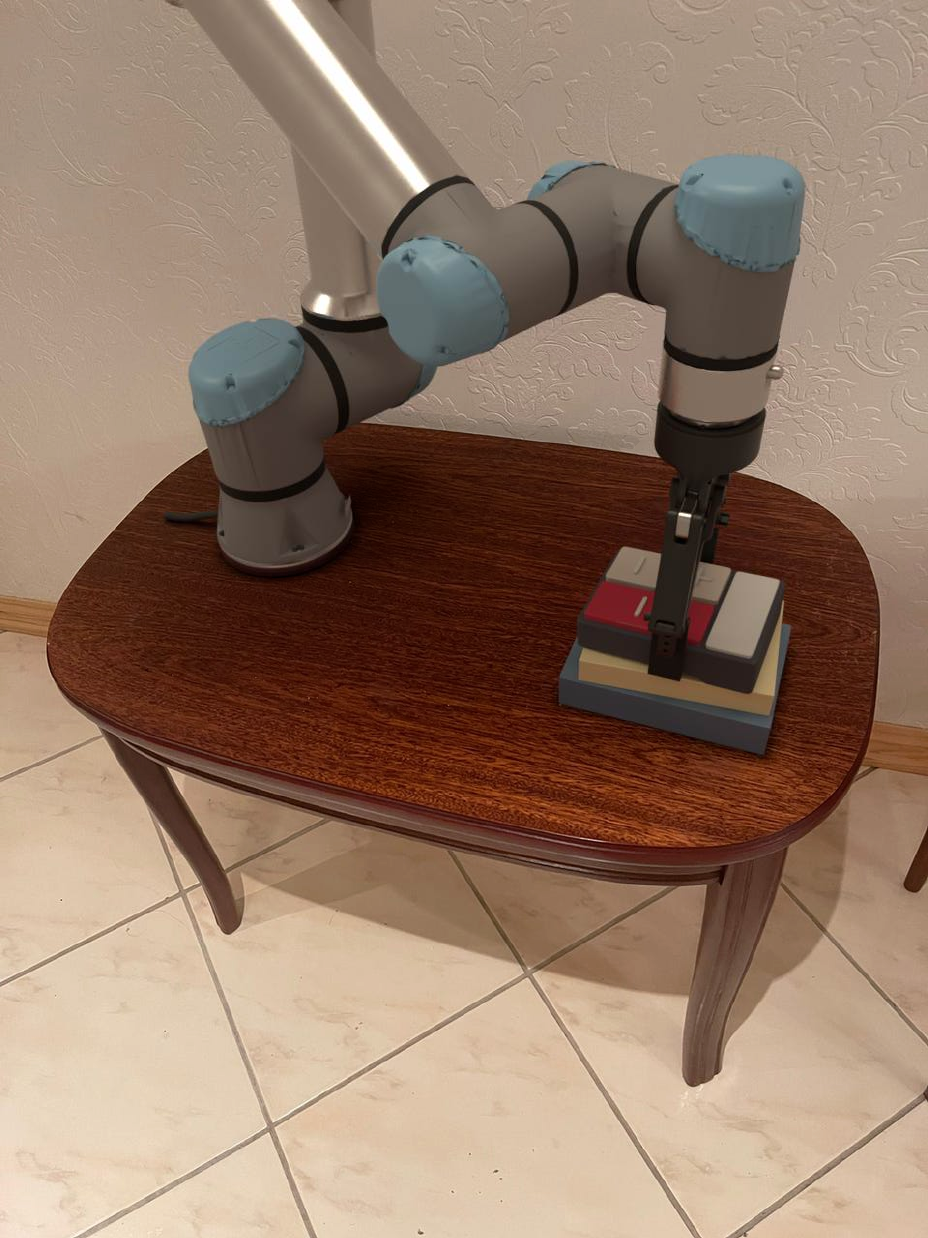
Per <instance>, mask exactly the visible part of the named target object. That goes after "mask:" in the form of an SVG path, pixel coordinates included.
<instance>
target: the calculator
mask: <svg viewBox="0 0 928 1238" xmlns="http://www.w3.org/2000/svg"><path fill="white" fill-rule="evenodd" d="M660 559H661V553H660V552H659V553H658V552H654V551H649V550H645V549H644V550H643V549H639V548H635V547H630V546H623V547H620V548H619V549H617V550H616V552H615V554H614V556H613V557H612V559H611V561H610V562H609V564H608V566H607V567H606V569H605V571H604V573H603V574H602V576H601V578H600V579H599V581H598V582H597V585H596V586H595V588H594V590H593V591H592V593H591V595H590V596H589V597H588V600H587V601H586V603H585V605H584V606H583V608H582V610H581V611H580V613H579V615H578V617H577V618H576V631H577V636H578V645H579V646H582V647H585V648H589V649H593V650H597V651H601V652H605V653H609V654H613V655H616V656H620V657H624V658H628V659H632V660H636V661H640V662H644V663H648V664H649V656H650V647H651V638H652V632H648V621H644V620H643V618H644V614H645V613H646V612H648V613H651V611H652V605H653V599H654V594H655V588H656V582H657V576H658V571H659V565H660ZM785 590H786V582H785V581H784V580H782V579H777V578H773V577H769V576H763V575H759V574H753V573H749V572H745V571H738V570H733V569H731V568H730V567H727V566H723V565H716V564H708V563H703V562H700V563H699V568H698V572H697V577H696V582H695V586H694V591H693V596H692V600H691V605H690V609H689V614H688V617H690V618H691V619H690V625H689V632H688V639H687V645H686V652H685V658H684V665H683V673H687V674H690V675H694V676H696V677H697V678H699V679H700V680H701V681H703V682H704V683H706V684H709V685H713V686H717V687H721V688H724V689H728V690H732V691H736V692H740V693H744V694H750V693H752V691H753V689H754V686H755V684H756V681H757V678H758V675H759V673H760V670H761V667H762V664H763V661H764V659H765V656H766V653H767V650H768V647H769V645H770V642H771V639H772V636H773V634H774V631H775V628H776V625H777V622H778V620H779V617H780V614H781V609H782V603H783V601H784V596H785V592H786V591H785Z"/></svg>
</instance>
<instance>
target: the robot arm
mask: <svg viewBox="0 0 928 1238" xmlns="http://www.w3.org/2000/svg"><path fill="white" fill-rule="evenodd" d="M163 1H164V2H166V3H167V4H169V5H171V6H173V7H177V8H180V9H185V10H187V11H188V12H189V14H190V15H191V16H192V18H193V19H194V20H195V21H196V23H197V24H198V25H199V27H200V29H202V30H203V32H204V33H205V34H206V36H207V37H208V38H209V40H210V41H211V42H212V43H213V45H214V46H215V48H216V49H217V50H218V51H219V52H220V54H221V55H222V56H223V58H224V59H225V60H226V62H227V63H228V64H229V66H230V67H231V68H232V69H233V70H234V72H235V73H236V74H237V76H238V77H239V78H240V80H241V81H242V82H243V83H244V85H245V86H246V87H247V89H248V90H249V91H250V92H251V94H252V95H253V96H254V97H255V99H256V100H257V102H258V103H259V104H260V105H261V107H262V108H263V109H264V110H265V112H266V113H267V115H268V116H269V117H270V118H271V119H272V120H273V122H274V123H275V125H276V126H277V127H278V129H279V130H280V131H281V132H282V133H283V135H284V136H285V138H286V139H287V140H288V141H289V146H290V152H291V158H292V165H293V171H294V177H295V184H296V191H297V197H298V203H299V209H300V215H301V223H302V228H303V234H304V240H305V246H306V247H305V248H306V252H307V259H308V266H309V272H310V277H311V278H310V279H309V281H308V282H307V283H306V284H305V286H304V287H303V288H302V290H301V291H300V293H299V303H300V308H301V315H302V323H299V324H297V325H293V324H292V323H291V322H289V321H287V320H285V319H284V320H283V319H280V318H271V317H270V318H269V317H266V318H258V319H257V320H255V321H253V322H251V321H250V320H245V321H242V322H238V323H235V324H233V325H230V326H227V327H225V328H223V329H222V330H219V331H218V332H216V333H214V334H213V335H212V336H210V337H209V338H207V339H206V340H205V341H204V342H203V343H202V344H201V345H200V346H199V347H198V348H197V349H196V350H195V352H194V354H193V356H192V359H191V361H190V364H188V372H187V373H188V374H187V376H188V382H189V386H190V391H191V395H192V406H193V410H194V412H195V415H196V418H198V421H199V425H200V427H201V430H202V433H203V437H204V440H205V444H206V447H207V450H208V453H209V456H210V460H211V463H212V466H213V471H214V473H215V476H216V480H217V483H218V486H219V499H218V500H219V501H218V509H215V510H214V509H213V510H205V511H198V512H191V513H178V512H171V511H165V512H164V513H163V518H164V519H165V520H168V521H169V520H170V521H175V522H196V521H200V520H201V521H202V520H210V519H217V524H216V525H217V527H216V538H217V542H218V545H219V548H220V551H221V554H222V557H223V558H224V560H225V561H226V562H227V563H228V564H229V565H230V566H231V567H234V569H237V570H238V571H241V572H242V573H246V574H249V575H254V576H260V577H270V578H271V577H286V576H293V575H298V574H301V573H305V572H309V571H311V570H314V569H316V568H319V567H321V566H322V565H325V564H326V563H328V562H330V561H331V560H333V559H334V558H336V557H337V556H338V555H339V554H340V553H341V552H343V551H344V549H345V548H346V547H347V546H348V545H349V543H350V541H351V540H352V538H353V535H354V531H355V522H354V517H353V511H352V507H351V503H352V500H351V499H352V498H351V494H349V495H348V498H346V497H345V495H344V494H343V493H342V492H341V491H340V489H339V486H338V484H337V483H336V481H335V479H334V478H333V476H332V474H331V472H330V471H329V469H328V467H327V463H326V462H327V461H326V457H325V453H324V452H325V451H324V448H323V446H324V445H323V441H325V440H327V439H329V438H331V437H333V436H335V435H337V434H339V433H342V432H343V431H345V430H348V429H349V428H352V427H354V426H356V425H358V424H360V423H362V422H364V421H366V420H368V419H371V418H373V417H375V416H377V415H379V414H381V413H383V412H385V411H388V410H391V409H396V408H399V407H401V406H403V405H404V404H405V403H406V402H409V401H410V400H411V399H413V398H414V397H416V396H417V395H419V394H421V393H422V392H423V391H425V390H426V389H427V388H428V387H429V386H430V384H431V383H432V381H433V380H434V377H435V375H436V372H437V370H438V368H440V367H446V366H447V365H452V364H454V363H457V362H459V361H464V360H466V359H469V358H472V357H475V356H477V355H482V354H485V353H487V352H490V351H492V350H494V349H495V348H496V347H498V345H500V344H501V343H502V342H505V341H507V340H509V339H511V338H513V337H515V336H517V335H519V334H521V333H523V332H525V331H527V330H529V329H531V328H534V327H536V326H537V325H539V324H541V323H544V322H546V321H548V320H549V321H550V320H552V319H554V318H556V317H560V316H561V315H564V314H566V313H568V312H570V311H572V310H574V309H577V308H579V307H581V306H583V305H585V304H587V303H589V302H592V301H594V300H596V299H598V298H601V297H602V296H604V295H607V294H618V295H620V296H623V297H626V298H628V299H633V300H635V301H638V302H641V303H644V304H647V305H650V306H654V307H660V308H662V309H664V310H665V321H664V329H663V330H664V331H663V332H664V333H663V334H664V338H663V340H662V348H661V359H660V366H659V367H660V368H659V376H658V377H659V378H658V388H657V396H658V397H657V398H658V400H659V402H658V404H657V408H656V418H655V428H654V438H653V442H654V443H653V445H654V450H655V452H656V454H657V456H658V457H659V458H660V459H661V460H662V461H663V462H664V463H665V464H667V465H668V466H670V467H672V468H673V469H674V470H676V475H677V476H675V475H674V476H672V478H671V482H670V486H669V490H668V497H669V500H670V503H669V508H668V509H667V511H666V512H665V516H664V519H665V526H664V535H663V542H662V548H661V553H660V554H661V559H660V565H659V571H658V576H657V582H656V588H655V594H654V599H653V605H652V611H651V613H648V612H646V613H645V614H644V618H643V620H644V621H648V632H652V638H651V647H650V656H649V664H648V673H647V674H650V675H654V676H658V677H662V678H666V679H671V680H675V681H679V682H680V680H681V677H682V672H683V665H684V658H685V652H686V645H687V639H688V632H689V625H690V619H691V618H690V617H688V614H689V609H690V605H691V600H692V596H693V591H694V586H695V582H696V577H697V572H698V568H699V563H700V562H703V563H708V564H713V565H715V557H716V552H717V546H718V539H719V534H720V528H718V527H715V526H720V527H725V528H727V527H728V525H729V522H730V517H731V513H730V512H729V513H728V512H723V511H722V508H724V506H725V505H726V504H727V499H728V498H727V490H728V487H729V485H730V481H731V476H732V474H733V473H736V472H739V471H742V470H743V469H746V468H747V467H749V466H750V465H751V464H752V463H753V462H754V461H755V460H756V458H757V457H758V455H759V453H760V448H761V444H762V439H763V433H764V428H765V422H766V417H767V411H766V407H767V404H768V402H769V398H770V392H771V387H772V380H775V381H777V380H781V379H782V378H783V377H784V372H785V370H784V367H783V365H781V364H775V362H776V359H777V353H778V349H779V343H780V339H781V330H782V325H783V321H784V316H785V311H786V306H787V302H788V296H789V291H790V287H791V282H792V279H793V272H794V267H795V263H796V261H797V256H799V255H800V251H801V244H802V243H801V241H802V240H801V229H802V221H803V214H804V206H805V198H806V182H805V179H804V177H803V175H802V173H801V171H800V170H798V169H797V167H795V165H793V164H791V163H790V162H788V161H785V160H783V159H780V158H777V157H773V156H768V155H762V154H754V155H745V154H742V153H728V154H719V155H714V156H713V155H712V156H708V157H705V158H701V159H699V160H697V161H694V162H693V163H691V164H690V165H689V166H688V167H686V168H685V170H684V171H683V172H682V174H681V176H680V179H679V182H678V183H676V182H672V181H667V180H664V179H660V178H657V177H652V176H649V175H645V174H642V173H637V172H633V171H629V170H626V169H621V168H618V167H617V166H615V165H613V164H611V163H610V164H607V163H605V162H603V161H591V162H589V161H582V160H581V161H580V160H575V159H574V160H573V159H570V160H563V161H559V162H558V163H555V164H553V165H551V166H550V167H549V168H548V169H546V170H545V171H544V174H543V176H542V177H541V178H540V179H539V180H538V181H537V182H535V183H534V184H533V185H532V187H531V189H530V191H529V192H528V196H527V198H526V199H524V200H521V201H519V202H516V203H513V204H510V205H507V206H504V207H501V208H498V209H497V208H496V207H494V206H493V205H492V203H491V202H490V201H489V200H488V198H487V197H486V196H485V195H484V194H483V192H482V191H481V189H479V187H478V186H477V185H476V184H475V183H474V181H473V180H471V179H470V178H469V176H468V175H467V174H466V173H465V172H464V170H463V169H462V167H461V166H460V165H459V164H458V163H457V161H456V160H455V159H454V158H453V156H452V155H451V154H450V152H449V151H448V150H447V149H446V147H445V146H444V145H443V143H442V142H441V141H440V140H439V139H438V138H437V136H436V135H435V133H434V132H433V131H432V130H431V128H429V127H430V126H428V125H427V123H425V121H424V120H423V119H422V118H421V116H420V115H419V113H418V112H417V111H416V110H415V109H414V107H413V106H412V105H411V103H410V102H409V101H408V100H407V99H406V97H405V96H404V95H403V93H402V92H401V90H399V88H398V87H397V86H396V85H395V84H394V82H393V81H392V80H391V79H390V77H389V76H388V74H387V73H386V72H385V71H384V69H383V68H382V67H381V65H380V64H379V63H378V62H377V51H376V39H375V29H374V19H373V17H374V16H373V9H372V8H373V6H372V0H163Z"/></svg>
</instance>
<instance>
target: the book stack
mask: <svg viewBox="0 0 928 1238" xmlns="http://www.w3.org/2000/svg"><path fill="white" fill-rule="evenodd" d="M784 606H785V600H783V603H782V609H781V614H780V617H779V620H778V622H777V625H776V628H775V631H774V634H773V636H772V639H771V642H770V645H769V647H768V650H767V653H766V656H765V659H764V661H763V664H762V667H761V670H760V673H759V675H758V678H757V681H756V684H755V686H754V689H753V691H752V693H750V694H744V693H740V692H736V691H732V690H728V689H724V688H721V687H717V686H713V685H709V684H706V683H704V682H703V681H701V680H700V679H699V678H697V677H696V676H694V675H690V674H687V673H683V672H682V677H681V680H680V682H679V681H675V680H671V679H666V678H662V677H658V676H654V675H650V674H647V673H648V663H644V662H640V661H636V660H632V659H628V658H624V657H620V656H616V655H613V654H609V653H605V652H601V651H597V650H593V649H589V648H585V647H582V646H579V645H578V635H576V638H575V640H574V642H573V645H572V647H571V649H570V651H569V654H568V656H567V658H566V659H565V663H564V665H563V667H562V670H561V671H560V674H559V676H558V704H559V705H565V706H569V707H571V708H575V709H580V710H584V711H587V712H592V713H594V714H595V713H596V714H599V715H603V716H607V717H610V718H614V719H615V718H616V719H619V720H623V721H626V722H630V723H634V724H637V725H638V724H639V725H643V726H647V727H650V728H654V729H659V730H663V731H666V732H671V733H674V734H678V735H682V736H685V737H690V738H694V739H698V740H702V741H706V742H710V743H714V744H717V745H721V746H725V747H729V748H733V749H736V750H741V751H746V752H748V753H753V754H757V755H759V756H764V755H765V752H766V749H767V745H768V741H769V737H770V733H771V730H772V724H773V720H774V715H775V709H776V705H777V700H778V696H779V691H780V685H781V680H782V676H783V671H784V665H785V661H786V655H787V650H788V645H789V641H790V636H791V630H792V625H791V624H787V623H783V616H784Z"/></svg>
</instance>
